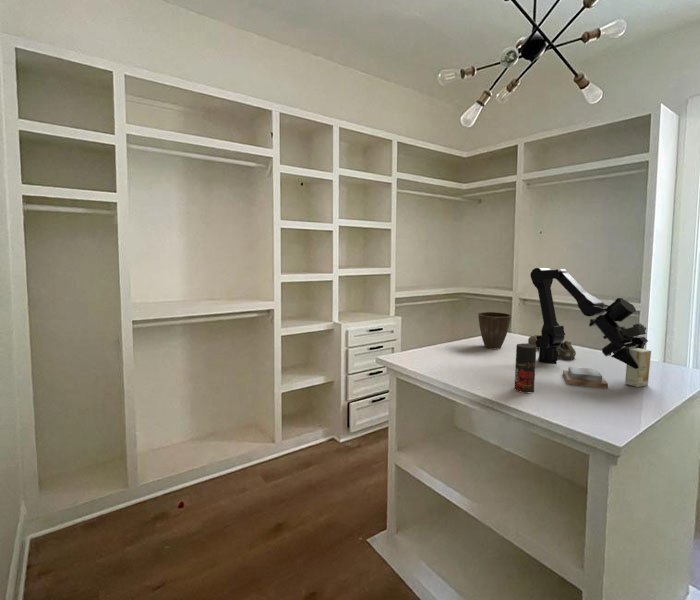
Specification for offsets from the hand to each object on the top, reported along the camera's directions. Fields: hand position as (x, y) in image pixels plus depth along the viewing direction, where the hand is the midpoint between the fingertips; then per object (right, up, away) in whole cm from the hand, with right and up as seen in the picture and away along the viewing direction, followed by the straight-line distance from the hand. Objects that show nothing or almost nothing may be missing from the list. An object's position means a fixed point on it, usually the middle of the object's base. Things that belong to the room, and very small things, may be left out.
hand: (642, 366), depth 134 cm
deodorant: (-41, -7, -3) cm, 42 cm away
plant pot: (-30, 0, +57) cm, 64 cm away
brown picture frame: (-16, -6, +6) cm, 18 cm away
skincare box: (-1, -7, +2) cm, 7 cm away
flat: (-6, -1, +50) cm, 50 cm away
